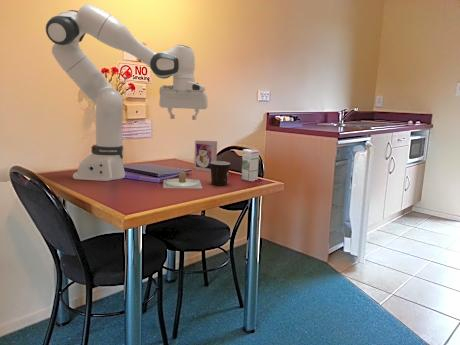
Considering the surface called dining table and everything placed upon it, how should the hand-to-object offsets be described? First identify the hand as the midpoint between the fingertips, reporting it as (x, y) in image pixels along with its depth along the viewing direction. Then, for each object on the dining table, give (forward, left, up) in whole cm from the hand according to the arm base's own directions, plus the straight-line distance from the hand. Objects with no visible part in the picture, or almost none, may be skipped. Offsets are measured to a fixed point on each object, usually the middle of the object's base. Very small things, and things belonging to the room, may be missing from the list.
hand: (183, 119), depth 168 cm
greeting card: (+14, +32, -28) cm, 45 cm away
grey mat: (0, -3, -28) cm, 28 cm away
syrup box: (+32, +9, -28) cm, 44 cm away
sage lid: (0, -3, -27) cm, 27 cm away
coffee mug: (+15, -4, -28) cm, 32 cm away
